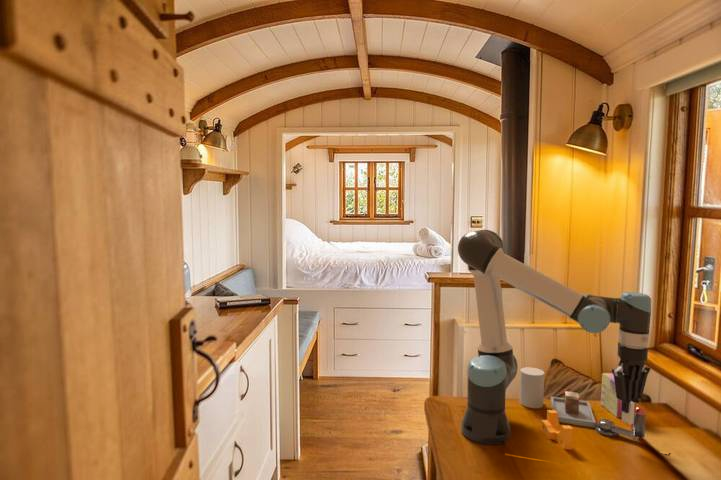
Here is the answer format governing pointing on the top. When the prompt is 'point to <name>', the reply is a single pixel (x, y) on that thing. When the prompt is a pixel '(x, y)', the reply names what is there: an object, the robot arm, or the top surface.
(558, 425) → the orange stepped block
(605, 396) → the box
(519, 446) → the top surface
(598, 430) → the crank base
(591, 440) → the top surface
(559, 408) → the tray
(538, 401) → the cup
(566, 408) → the stop block
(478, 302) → the robot arm
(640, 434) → the crank
